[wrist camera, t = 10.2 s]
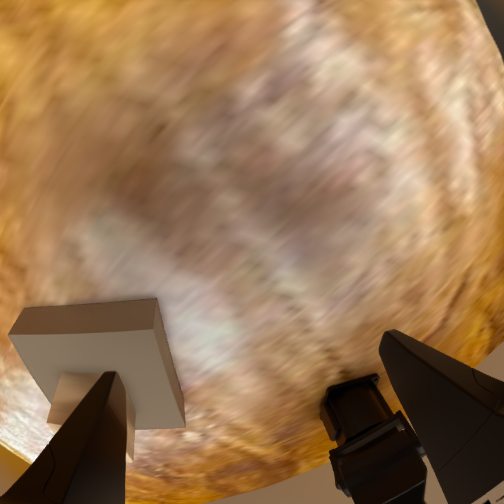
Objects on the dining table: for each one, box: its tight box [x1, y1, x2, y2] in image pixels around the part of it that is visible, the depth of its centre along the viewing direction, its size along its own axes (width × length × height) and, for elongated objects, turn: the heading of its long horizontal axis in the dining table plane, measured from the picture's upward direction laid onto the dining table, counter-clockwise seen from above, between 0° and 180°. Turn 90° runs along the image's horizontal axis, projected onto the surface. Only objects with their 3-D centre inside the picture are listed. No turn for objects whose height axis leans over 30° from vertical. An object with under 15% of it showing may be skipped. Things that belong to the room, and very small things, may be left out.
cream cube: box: [47, 372, 136, 462], centre depth 18 cm, size 5×5×5 cm
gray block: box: [8, 298, 186, 430], centre depth 21 cm, size 12×12×4 cm
